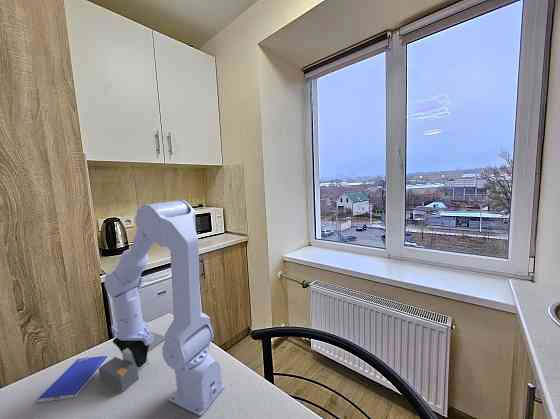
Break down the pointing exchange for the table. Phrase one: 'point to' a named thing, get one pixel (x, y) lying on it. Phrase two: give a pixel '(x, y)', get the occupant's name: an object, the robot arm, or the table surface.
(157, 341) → the mat
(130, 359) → the block
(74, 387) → the blue book
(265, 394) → the table surface
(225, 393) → the table surface
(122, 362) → the power strip
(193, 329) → the robot arm
